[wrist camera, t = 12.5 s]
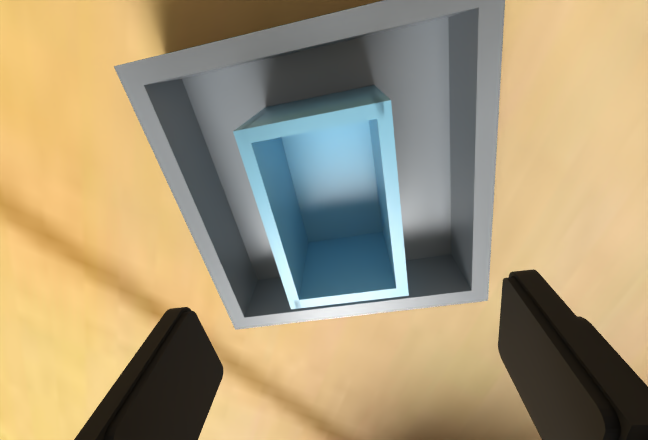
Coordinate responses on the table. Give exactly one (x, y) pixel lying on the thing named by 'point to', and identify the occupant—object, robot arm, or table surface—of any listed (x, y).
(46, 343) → the table surface
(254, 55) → the grey square tray
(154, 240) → the table surface
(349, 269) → the teal crate
